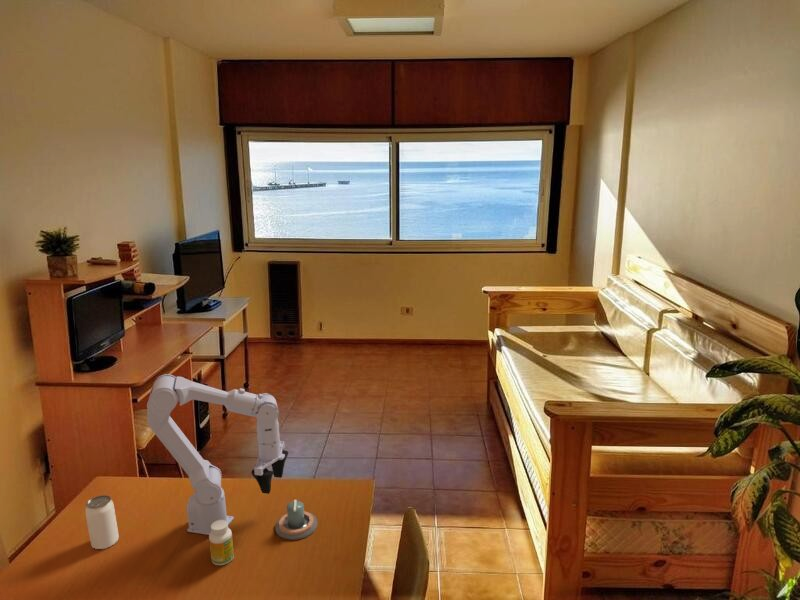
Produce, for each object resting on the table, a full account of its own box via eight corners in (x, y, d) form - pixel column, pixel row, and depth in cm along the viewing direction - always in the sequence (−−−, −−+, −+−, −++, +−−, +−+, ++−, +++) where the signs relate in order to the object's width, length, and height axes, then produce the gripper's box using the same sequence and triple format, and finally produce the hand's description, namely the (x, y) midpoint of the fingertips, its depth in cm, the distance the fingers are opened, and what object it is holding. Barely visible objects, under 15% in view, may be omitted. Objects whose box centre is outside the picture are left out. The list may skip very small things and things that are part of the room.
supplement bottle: (227, 567, 140) (224, 533, 137) (207, 564, 141) (203, 530, 138) (238, 552, 145) (234, 519, 142) (218, 549, 146) (214, 516, 143)
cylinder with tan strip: (304, 528, 152) (303, 509, 151) (287, 530, 152) (286, 510, 150) (304, 517, 157) (303, 498, 155) (288, 519, 156) (287, 500, 155)
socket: (268, 536, 151) (268, 531, 150) (285, 511, 161) (285, 506, 160) (308, 542, 148) (307, 537, 148) (323, 516, 158) (322, 511, 158)
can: (124, 537, 151) (118, 497, 147) (103, 553, 145) (96, 512, 142) (107, 531, 153) (100, 491, 150) (85, 546, 148) (78, 505, 144)
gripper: (270, 455, 146) (274, 502, 149) (293, 428, 159) (296, 471, 163) (245, 452, 147) (249, 498, 151) (270, 425, 161) (273, 469, 165)
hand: (272, 484), depth 157 cm, fingers open, 7 cm apart
